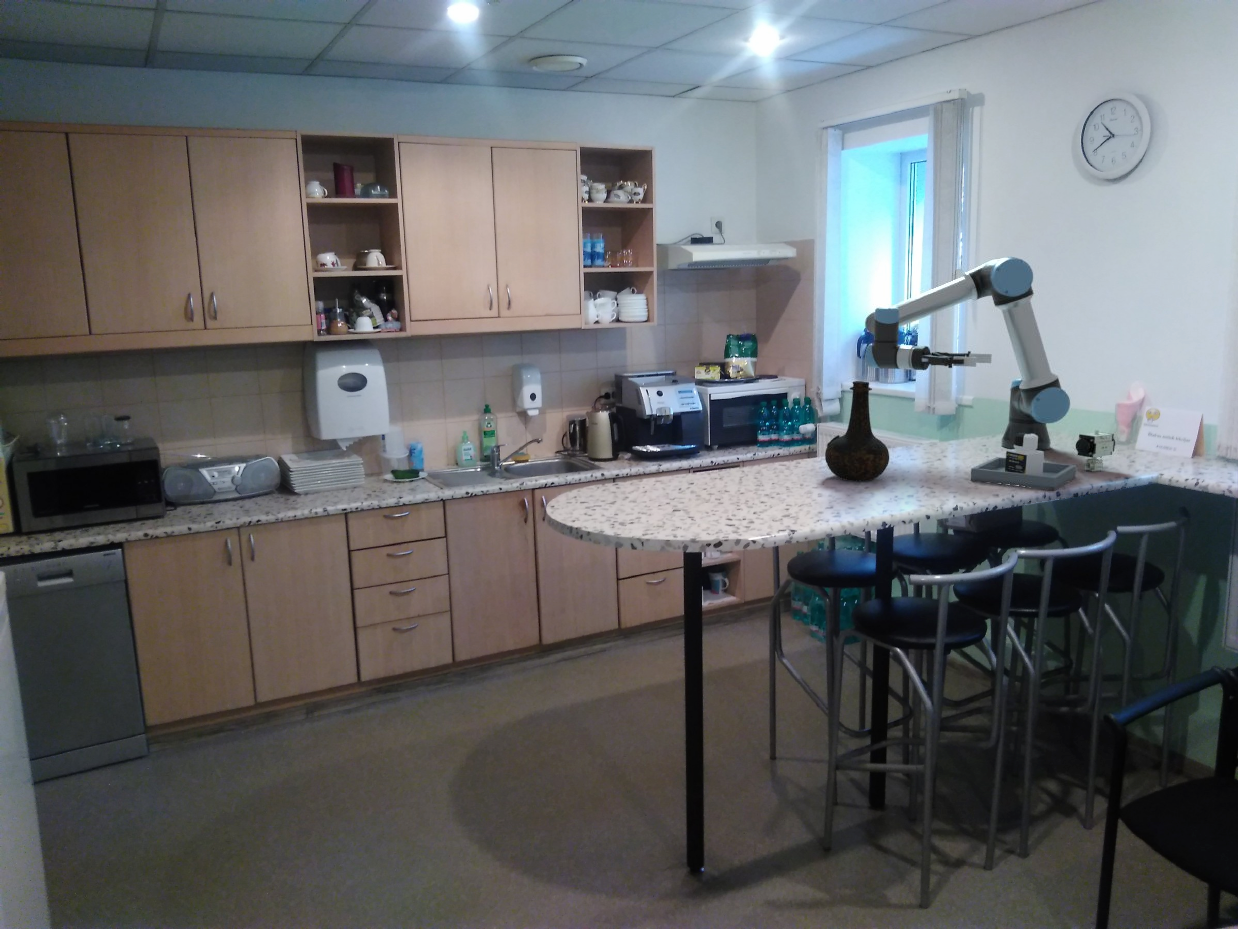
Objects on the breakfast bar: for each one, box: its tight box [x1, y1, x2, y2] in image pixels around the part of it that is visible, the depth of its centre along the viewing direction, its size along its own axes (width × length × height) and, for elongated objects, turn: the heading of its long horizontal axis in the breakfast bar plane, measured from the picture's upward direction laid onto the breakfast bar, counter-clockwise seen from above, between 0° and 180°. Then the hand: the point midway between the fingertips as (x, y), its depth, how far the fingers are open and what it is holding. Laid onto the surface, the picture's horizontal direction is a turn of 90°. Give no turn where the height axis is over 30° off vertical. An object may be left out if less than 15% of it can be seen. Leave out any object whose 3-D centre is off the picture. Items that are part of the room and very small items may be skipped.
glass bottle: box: [824, 380, 890, 482], centre depth 260 cm, size 18×18×28 cm
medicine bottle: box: [1005, 433, 1045, 476], centre depth 257 cm, size 7×7×12 cm
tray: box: [970, 456, 1077, 492], centre depth 258 cm, size 22×22×4 cm
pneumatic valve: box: [1075, 429, 1116, 473], centre depth 267 cm, size 6×12×12 cm, turn 117°
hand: (983, 360), depth 274 cm, fingers open, 13 cm apart
